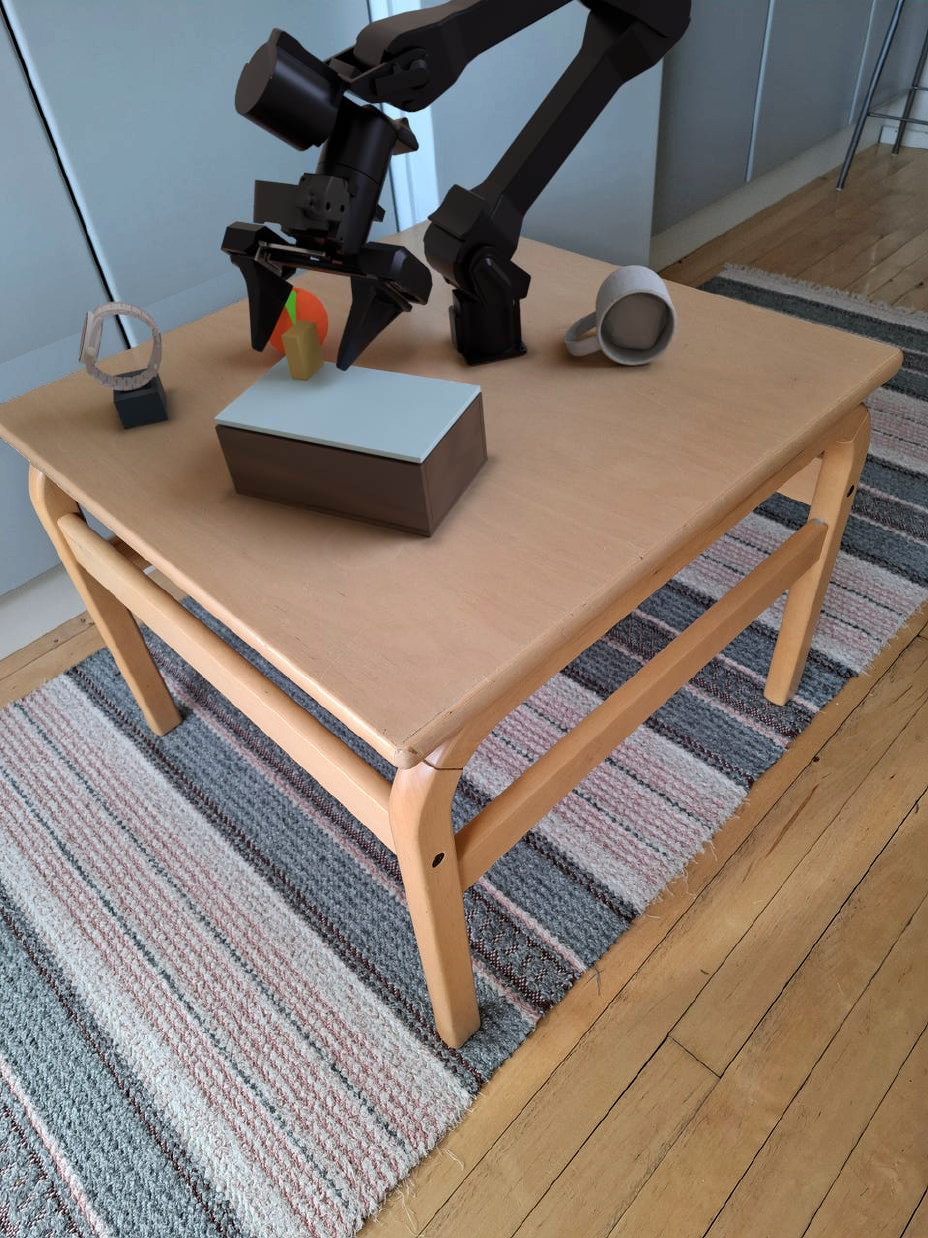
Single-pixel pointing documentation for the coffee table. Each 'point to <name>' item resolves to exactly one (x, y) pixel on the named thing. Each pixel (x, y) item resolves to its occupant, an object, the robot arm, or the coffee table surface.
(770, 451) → the coffee table surface
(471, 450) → the case
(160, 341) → the watch
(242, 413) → the lid
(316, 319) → the clementine
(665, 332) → the ceramic mug
